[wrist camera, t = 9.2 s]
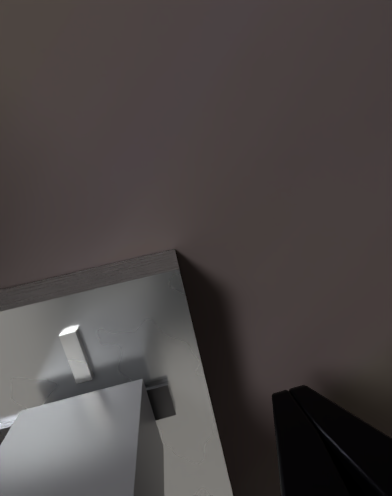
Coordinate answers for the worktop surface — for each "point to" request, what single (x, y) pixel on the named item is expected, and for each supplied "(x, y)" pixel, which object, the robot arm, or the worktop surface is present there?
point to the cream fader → (85, 447)
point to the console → (116, 357)
